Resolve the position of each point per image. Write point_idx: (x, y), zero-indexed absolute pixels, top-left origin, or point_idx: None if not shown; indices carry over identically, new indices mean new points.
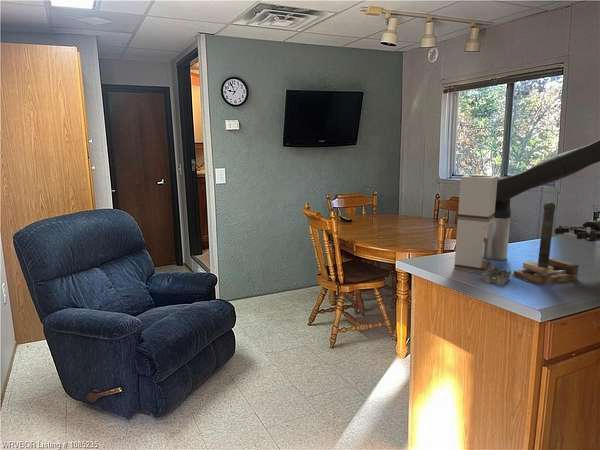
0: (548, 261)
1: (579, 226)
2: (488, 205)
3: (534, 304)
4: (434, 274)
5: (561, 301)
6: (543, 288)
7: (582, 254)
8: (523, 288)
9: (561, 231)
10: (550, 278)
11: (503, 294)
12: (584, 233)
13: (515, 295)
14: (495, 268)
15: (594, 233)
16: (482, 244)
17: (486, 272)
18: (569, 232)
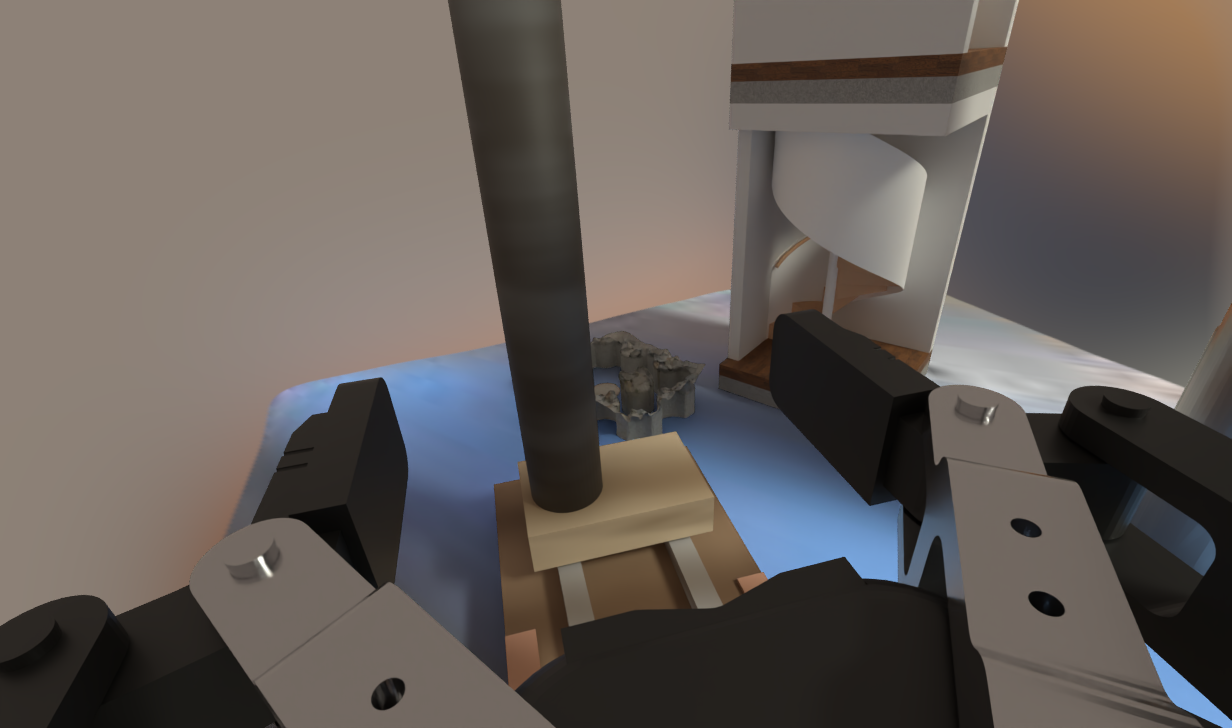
0: (528, 464)
1: (974, 660)
2: None
3: (314, 398)
4: (703, 295)
5: (262, 483)
6: (442, 504)
7: None
8: (479, 434)
9: (831, 418)
10: (500, 557)
11: (448, 366)
12: (313, 481)
13: (420, 387)
14: (688, 377)
15: (41, 614)
16: (734, 239)
17: (626, 342)
18: (909, 580)
